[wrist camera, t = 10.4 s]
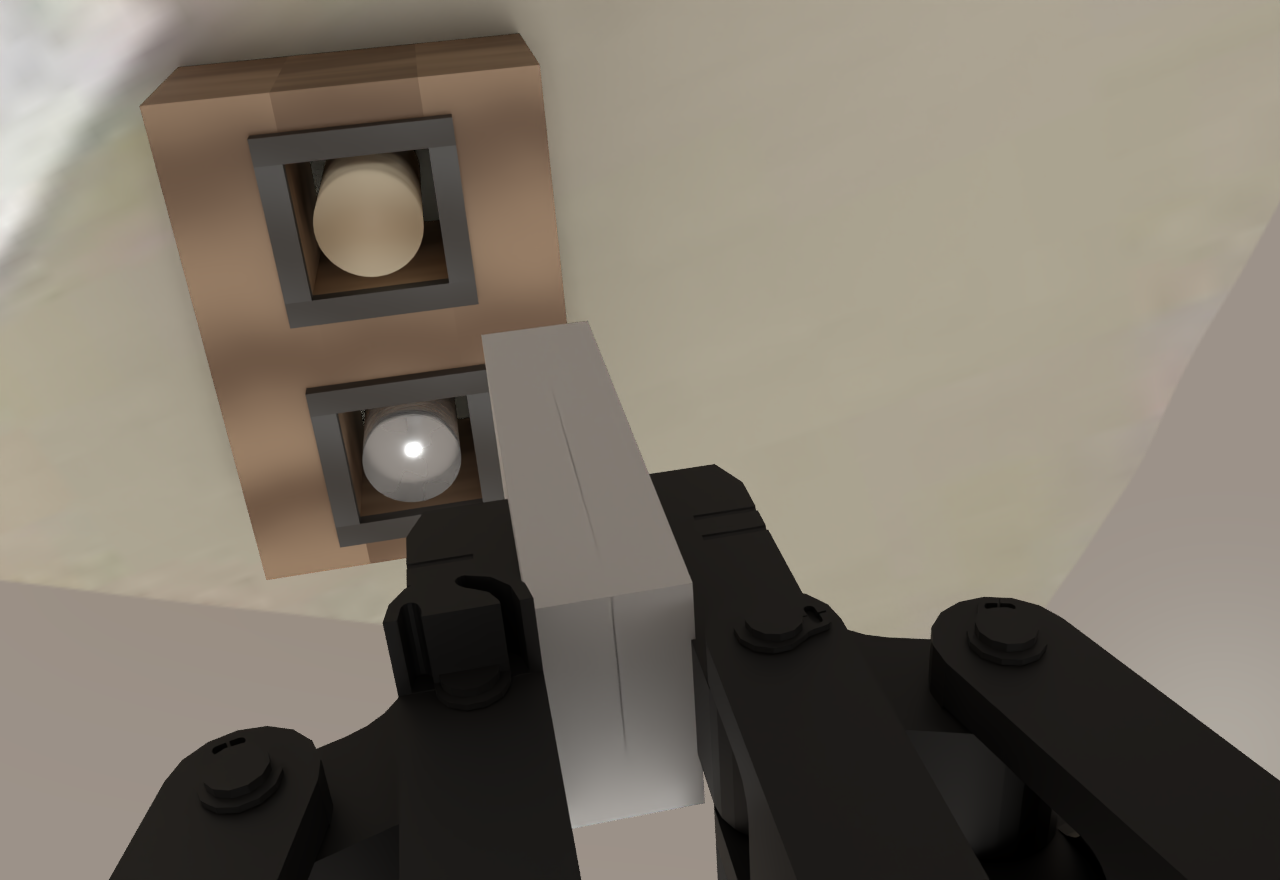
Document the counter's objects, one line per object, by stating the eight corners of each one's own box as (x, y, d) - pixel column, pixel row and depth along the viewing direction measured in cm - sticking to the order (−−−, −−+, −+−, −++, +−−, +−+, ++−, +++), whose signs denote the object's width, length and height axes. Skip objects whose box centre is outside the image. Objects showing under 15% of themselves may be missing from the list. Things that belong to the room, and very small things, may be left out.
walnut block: (178, 67, 47) (136, 109, 39) (519, 33, 49) (541, 67, 41) (282, 488, 56) (265, 587, 49) (565, 446, 58) (590, 536, 51)
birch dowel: (316, 130, 48) (303, 178, 41) (412, 120, 49) (414, 165, 42) (335, 222, 50) (324, 283, 43) (426, 211, 51) (431, 269, 44)
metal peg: (359, 348, 53) (354, 424, 46) (446, 336, 54) (453, 410, 47) (375, 424, 55) (371, 508, 48) (458, 412, 56) (467, 494, 49)
